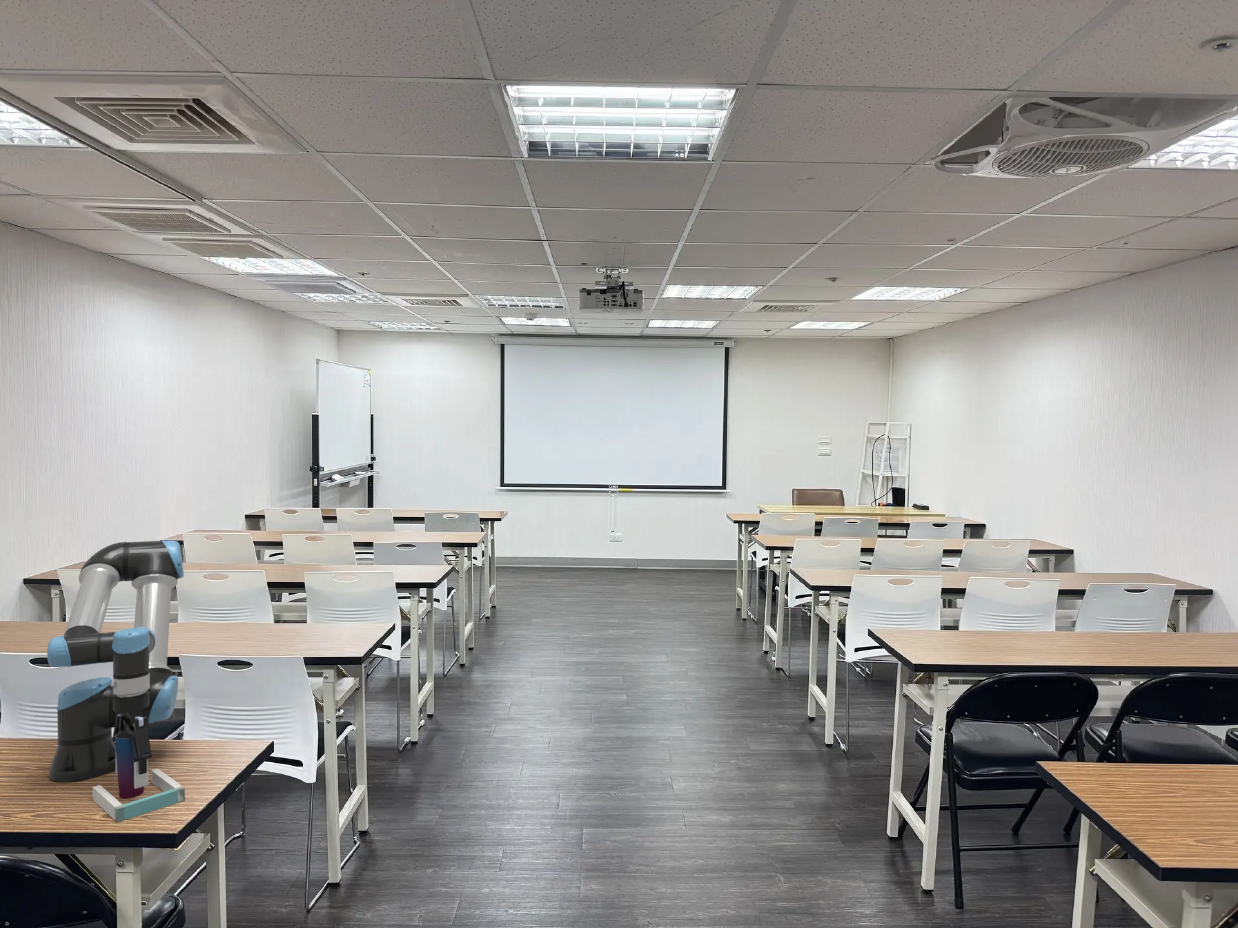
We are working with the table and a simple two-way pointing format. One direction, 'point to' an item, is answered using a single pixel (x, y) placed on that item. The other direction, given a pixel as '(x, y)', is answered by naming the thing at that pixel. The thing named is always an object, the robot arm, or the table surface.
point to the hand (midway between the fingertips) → (131, 778)
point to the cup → (126, 766)
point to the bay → (122, 812)
